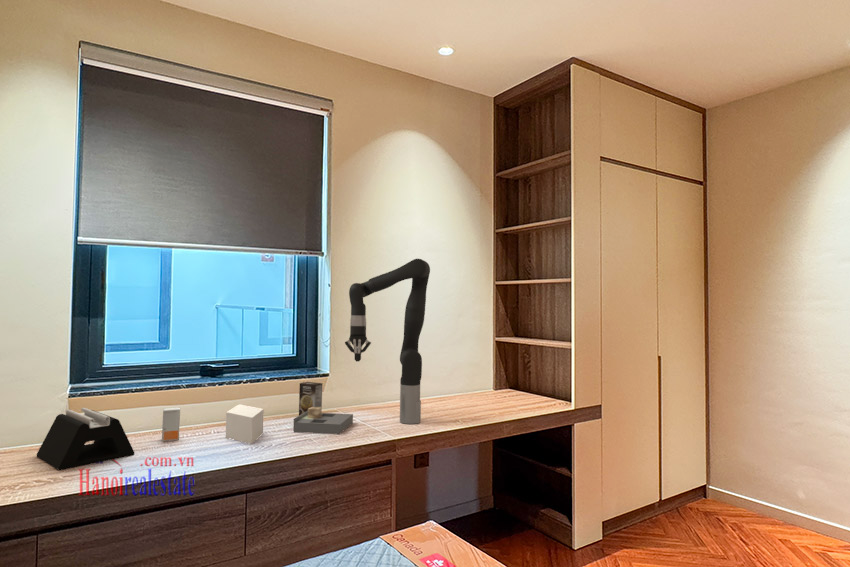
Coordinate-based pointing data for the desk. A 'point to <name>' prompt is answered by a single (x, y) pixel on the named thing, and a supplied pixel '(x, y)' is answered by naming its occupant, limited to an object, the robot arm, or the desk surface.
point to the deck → (322, 423)
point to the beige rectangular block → (244, 423)
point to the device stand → (84, 440)
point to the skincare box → (171, 424)
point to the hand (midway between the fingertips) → (357, 361)
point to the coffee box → (309, 396)
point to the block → (314, 412)
